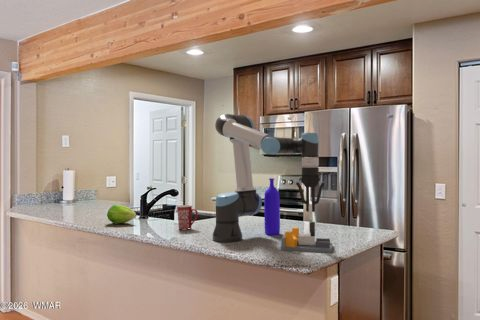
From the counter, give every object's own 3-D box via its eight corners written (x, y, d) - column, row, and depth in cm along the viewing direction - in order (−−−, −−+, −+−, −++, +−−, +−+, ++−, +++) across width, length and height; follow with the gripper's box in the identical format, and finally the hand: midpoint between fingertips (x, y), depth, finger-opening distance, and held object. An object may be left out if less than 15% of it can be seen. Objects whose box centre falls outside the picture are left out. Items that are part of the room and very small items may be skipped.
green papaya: (127, 226, 239) (127, 207, 239) (102, 224, 247) (102, 205, 247) (142, 223, 251) (142, 204, 251) (118, 221, 260) (117, 203, 260)
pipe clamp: (294, 247, 173) (294, 232, 173) (285, 246, 175) (285, 231, 175) (302, 241, 183) (302, 228, 183) (293, 241, 185) (293, 227, 185)
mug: (174, 229, 226) (173, 206, 226) (181, 227, 235) (181, 204, 235) (193, 231, 222) (193, 207, 222) (200, 228, 231) (200, 205, 230)
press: (280, 250, 174) (280, 237, 174) (284, 243, 186) (284, 232, 186) (331, 252, 168) (331, 239, 168) (332, 246, 181) (332, 234, 181)
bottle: (267, 235, 206) (267, 179, 206) (262, 233, 214) (261, 178, 214) (282, 234, 208) (281, 178, 208) (276, 232, 216) (276, 177, 216)
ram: (298, 244, 176) (298, 222, 176) (299, 242, 180) (299, 221, 180) (314, 245, 174) (314, 223, 174) (315, 243, 179) (315, 221, 178)
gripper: (294, 167, 175) (295, 219, 175) (324, 167, 171) (325, 220, 172) (296, 166, 182) (297, 217, 182) (325, 166, 179) (325, 218, 179)
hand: (310, 218), depth 177 cm, fingers closed
